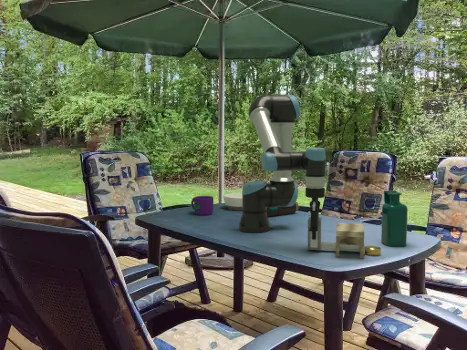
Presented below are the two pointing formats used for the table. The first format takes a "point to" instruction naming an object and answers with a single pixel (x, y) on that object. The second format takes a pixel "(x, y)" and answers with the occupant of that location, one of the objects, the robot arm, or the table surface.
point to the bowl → (233, 201)
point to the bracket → (330, 244)
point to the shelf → (350, 236)
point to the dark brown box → (281, 210)
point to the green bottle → (394, 220)
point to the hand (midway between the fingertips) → (314, 245)
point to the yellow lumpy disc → (372, 251)
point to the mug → (203, 205)
